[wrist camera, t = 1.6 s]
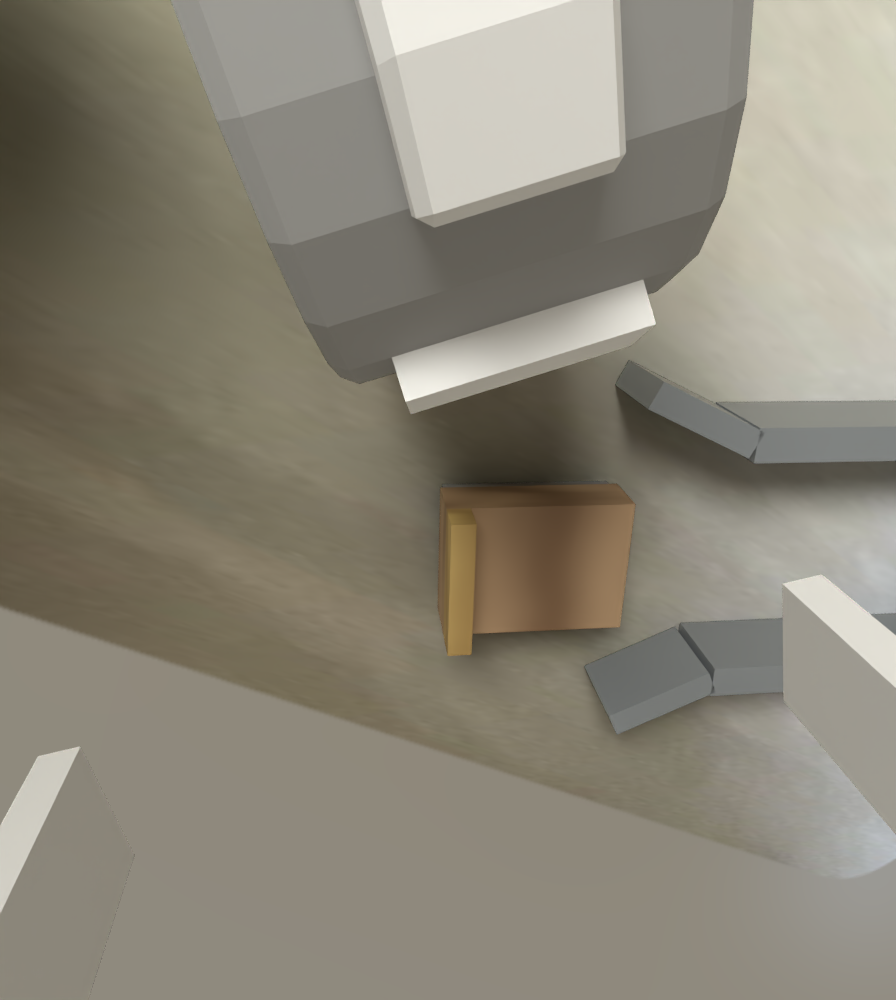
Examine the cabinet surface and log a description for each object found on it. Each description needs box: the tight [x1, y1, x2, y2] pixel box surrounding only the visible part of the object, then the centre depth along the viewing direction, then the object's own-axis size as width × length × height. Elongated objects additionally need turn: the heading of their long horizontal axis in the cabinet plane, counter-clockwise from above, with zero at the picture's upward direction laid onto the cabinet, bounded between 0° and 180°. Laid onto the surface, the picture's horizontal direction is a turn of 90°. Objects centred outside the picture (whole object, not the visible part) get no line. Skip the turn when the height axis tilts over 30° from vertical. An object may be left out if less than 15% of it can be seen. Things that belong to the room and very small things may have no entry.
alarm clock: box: [171, 0, 754, 414], centre depth 18 cm, size 18×8×20 cm, turn 16°
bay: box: [585, 360, 896, 734], centre depth 35 cm, size 18×17×4 cm
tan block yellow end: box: [438, 481, 636, 656], centre depth 33 cm, size 8×6×5 cm
